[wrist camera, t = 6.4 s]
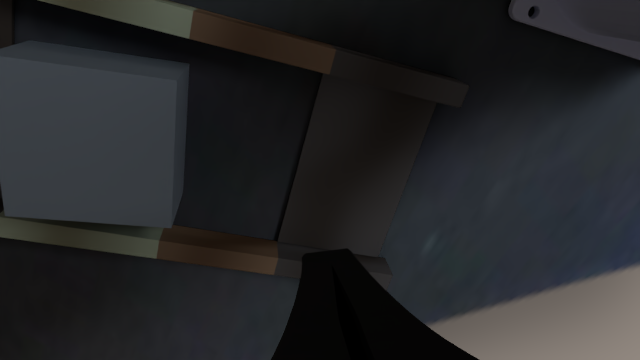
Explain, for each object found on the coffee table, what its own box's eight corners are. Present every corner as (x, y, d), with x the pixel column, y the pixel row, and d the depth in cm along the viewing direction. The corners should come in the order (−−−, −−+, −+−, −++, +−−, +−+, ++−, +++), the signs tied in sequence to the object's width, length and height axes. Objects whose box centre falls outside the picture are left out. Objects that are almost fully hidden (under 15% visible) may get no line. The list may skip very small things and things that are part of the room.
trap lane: (455, 78, 20) (469, 85, 18) (379, 272, 24) (386, 290, 23) (-83, -69, 15) (-117, -73, 14) (-62, 207, 19) (-86, 225, 18)
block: (190, 62, 18) (176, 80, 15) (183, 189, 21) (171, 228, 17) (32, 39, 17) (-18, 53, 14) (45, 177, 19) (4, 216, 16)
